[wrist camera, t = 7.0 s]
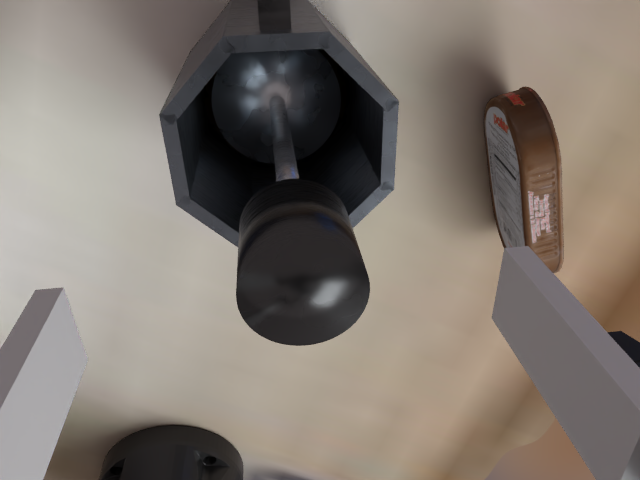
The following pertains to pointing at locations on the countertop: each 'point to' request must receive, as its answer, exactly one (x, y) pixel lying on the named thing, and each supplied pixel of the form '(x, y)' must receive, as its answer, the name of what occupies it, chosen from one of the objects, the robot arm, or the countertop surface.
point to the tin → (525, 174)
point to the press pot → (251, 176)
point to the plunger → (290, 199)
